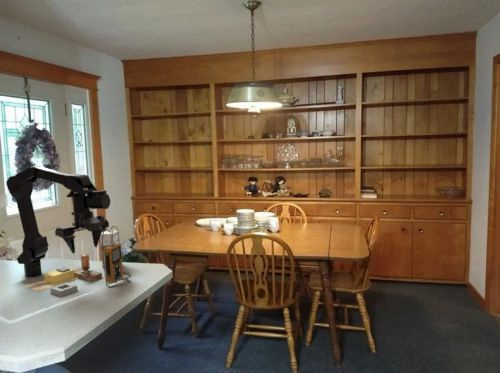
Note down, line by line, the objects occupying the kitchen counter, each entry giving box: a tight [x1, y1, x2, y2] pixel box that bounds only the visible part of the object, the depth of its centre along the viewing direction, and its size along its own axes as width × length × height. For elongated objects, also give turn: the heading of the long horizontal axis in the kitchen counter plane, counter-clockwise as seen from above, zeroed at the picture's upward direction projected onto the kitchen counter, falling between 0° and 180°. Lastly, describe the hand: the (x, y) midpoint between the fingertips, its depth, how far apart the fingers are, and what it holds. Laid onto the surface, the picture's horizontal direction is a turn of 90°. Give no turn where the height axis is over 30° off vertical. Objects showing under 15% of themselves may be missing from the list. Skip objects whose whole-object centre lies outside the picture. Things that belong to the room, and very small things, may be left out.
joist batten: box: [71, 266, 103, 282], centre depth 147 cm, size 15×5×2 cm, turn 56°
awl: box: [80, 254, 91, 274], centre depth 146 cm, size 3×3×9 cm
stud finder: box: [44, 266, 75, 284], centre depth 144 cm, size 6×8×4 cm
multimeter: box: [102, 225, 132, 288], centre depth 143 cm, size 15×10×20 cm
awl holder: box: [49, 282, 79, 297], centre depth 132 cm, size 6×6×2 cm
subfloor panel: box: [24, 277, 79, 292], centre depth 142 cm, size 10×15×1 cm, turn 146°
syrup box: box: [99, 230, 121, 268], centre depth 161 cm, size 6×6×14 cm
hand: (84, 250), depth 145 cm, fingers open, 9 cm apart
